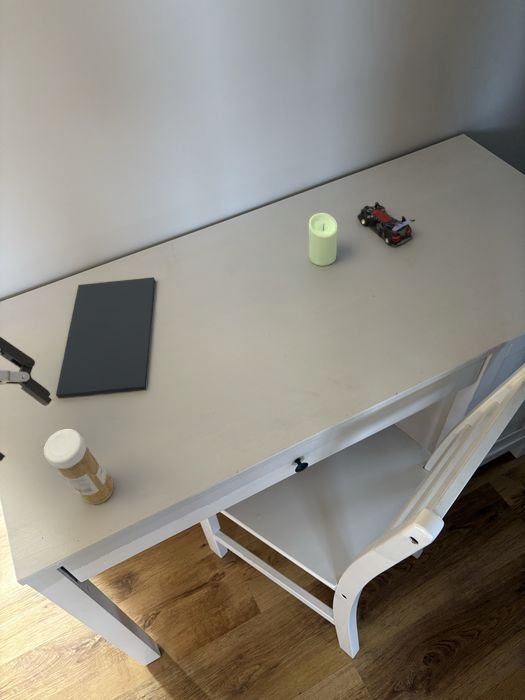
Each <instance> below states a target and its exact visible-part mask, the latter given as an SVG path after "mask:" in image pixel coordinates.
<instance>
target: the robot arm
mask: <svg viewBox="0 0 525 700" xmlns="http://www.w3.org/2000/svg"><path fill="white" fill-rule="evenodd" d="M0 356H1V357H3V358H4V359H5V360H7V361H8V362H10V363H11V364H13V365H14V366H15V367H17V368H19V369H18V371H13V370H12V371H11V370H8V369H7V370H5V369H4V370H3V369H0V386H2V385H4V386H5V385H18V386H21V387H20V389H21V390H22V391H23V392H25V393H26V394H27V395H29V396H30V397H31V398H33V399H34V400H35V401H37V402H38V403H39V404H40V405H42V406H44V407H46V406H48V405H49V404H50V403H51V402H52V401H53V398H52V397H50V396H51V392H50V391H49V390H48V389H47V388H46V387H45V386H43V385H42V384H40V383H39V382H37V380H35V379H34V378H33V377H32V371H33V368H34V366H35V365H36V361H35V359H33V358H32V357H31V356H29V354H26V353H25V352H23V351H22V350H21V349H19V348H17V347H16V346H15V345H13V344H12V343H10V342H9V341H7V340H6V339H5V338H3V337H1V336H0ZM4 458H6V455H5V454H4V453H2V452H1V451H0V462H2V461H3V460H4Z"/></svg>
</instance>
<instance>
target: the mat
mask: <svg viewBox="0 0 525 700" xmlns="http://www.w3.org/2000/svg"><path fill="white" fill-rule="evenodd" d="M77 285H78V286H77V291H76V296H75V300H74V304H73V309H72V315H71V319H70V324H69V329H68V333H67V334H68V335H67V339H66V344H65V348H64V352H63V353H64V354H63V358H62V364H61V368H60V373H59V378H58V382H57V387H56V392H55V396H56V397H57V398H58V399H63V398H73V397H74V398H75V397H83V396H84V397H85V396H94V395H105V394H114V393H115V394H117V393H125V392H136V391H144V390H145V391H147V384H148V372H149V360H150V347H151V339H152V336H151V335H152V325H153V314H154V313H153V312H154V299H155V290H156V288H155V287H156V279H155V277H154V276H152V277H143V278H132V279H122V280H112V281H101V282H93V283H85V284H84V283H83V284H77Z"/></svg>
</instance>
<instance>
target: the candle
mask: <svg viewBox="0 0 525 700" xmlns="http://www.w3.org/2000/svg"><path fill="white" fill-rule="evenodd" d="M338 228H339V226H338V222H337V221H336V218H334V217H333V216H332V215H331V214H328V213H326V212H318V213H315V214H313V215H312V216H311V217H310V218H309V220H308V259H309V260H310V262H311V263H313V264H314V265H316V266H323V267H324V266H328V265H329V266H330V265H331V264H333V263H334V262H335V261H336V260H337V252H338Z"/></svg>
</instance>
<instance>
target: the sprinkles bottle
mask: <svg viewBox="0 0 525 700" xmlns="http://www.w3.org/2000/svg"><path fill="white" fill-rule="evenodd" d="M43 454H44V457H45V458H46V460H47V461H48V462H49V464H51V466H53V467H54V468H56V469H57V470H58V471H59V472H60V474H61V476H62V477H63V478H64V479H65V480H66V481H67V482H68V483H69V485H70V486H72V488H73V489H74V490H75V491H76V492H77V493H79V495H80V496H81V497H82V500H83V501H85V502H86V503H87V504H90V505H100V504H102V503H104V502H105V501H107V500H109V498H110V497H111V495H112V494H113V491H114V480H113V479H112V477H111V476H110V475H109V474H108V473H107V471H106V470H105V468H104V467H103V466H102V465H101V464H100V462H99V460H98V459H97V458H96V457H95V455H94V454H93V453H92V452H91V451H90V449H89V448H88V447H87V445H86V442H85V439H84V438H83V437H82V436H81V434H80V433H79V432H78V431H77V430H75V429H71V428H63V429H60V430H57V431H55V432H54V433H52V434H51V435H50V436H49V437H48V438H47V440H46V441H45V444H44V446H43Z"/></svg>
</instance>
